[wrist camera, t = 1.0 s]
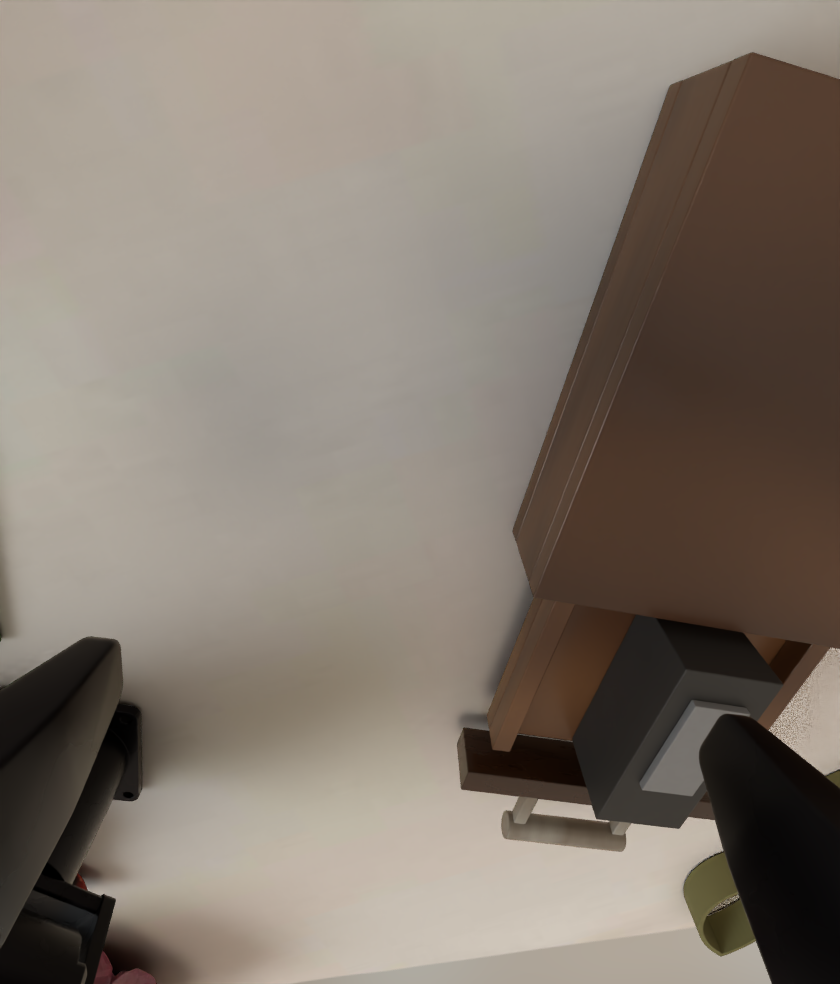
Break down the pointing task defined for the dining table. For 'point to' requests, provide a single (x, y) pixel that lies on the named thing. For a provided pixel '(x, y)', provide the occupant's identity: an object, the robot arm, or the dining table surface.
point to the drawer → (574, 719)
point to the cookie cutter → (711, 889)
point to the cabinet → (709, 375)
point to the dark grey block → (665, 717)
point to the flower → (120, 974)
